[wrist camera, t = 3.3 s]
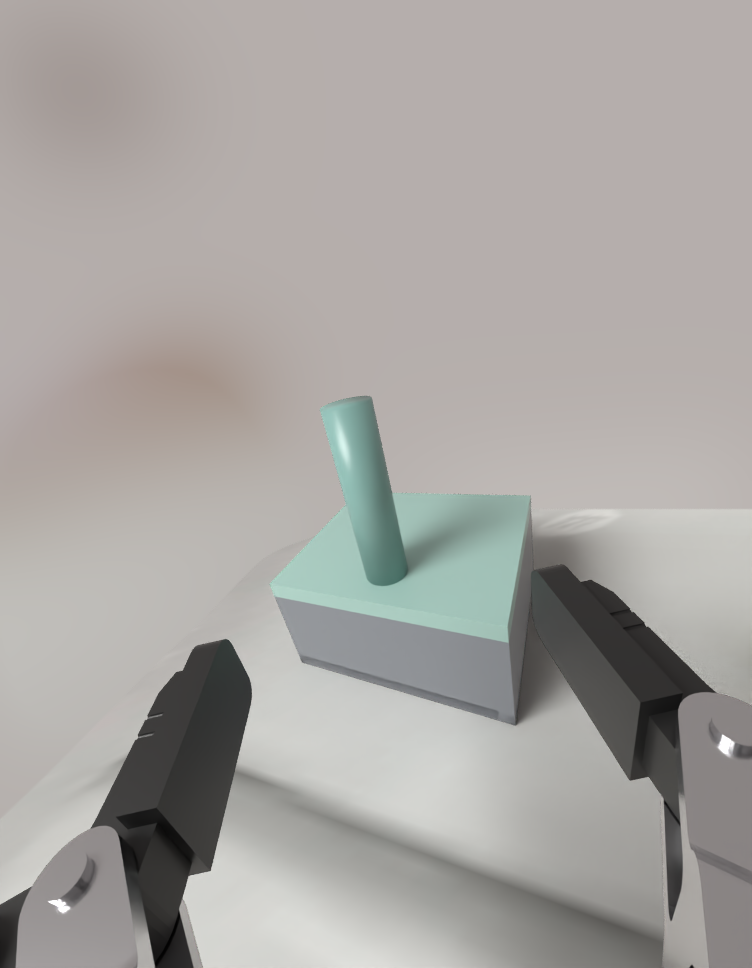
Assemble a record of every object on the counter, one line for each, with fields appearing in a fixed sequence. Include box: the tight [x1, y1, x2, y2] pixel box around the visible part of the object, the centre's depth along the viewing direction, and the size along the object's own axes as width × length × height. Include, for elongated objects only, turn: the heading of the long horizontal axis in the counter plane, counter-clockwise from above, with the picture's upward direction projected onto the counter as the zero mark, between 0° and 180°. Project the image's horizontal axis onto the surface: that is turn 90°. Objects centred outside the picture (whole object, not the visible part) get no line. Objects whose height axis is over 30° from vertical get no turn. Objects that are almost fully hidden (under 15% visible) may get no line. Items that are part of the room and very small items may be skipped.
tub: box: [275, 511, 534, 725], centre depth 26 cm, size 14×12×6 cm
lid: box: [270, 396, 531, 643], centre depth 22 cm, size 14×12×12 cm
